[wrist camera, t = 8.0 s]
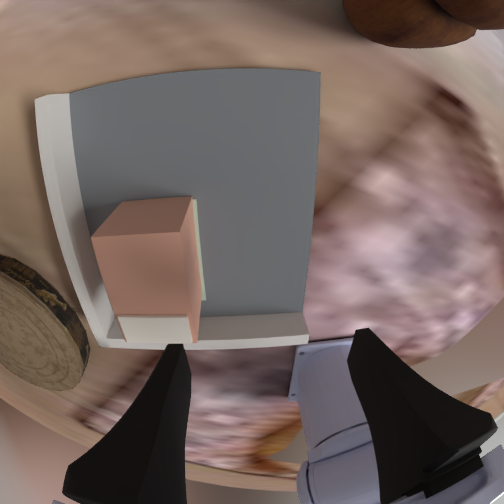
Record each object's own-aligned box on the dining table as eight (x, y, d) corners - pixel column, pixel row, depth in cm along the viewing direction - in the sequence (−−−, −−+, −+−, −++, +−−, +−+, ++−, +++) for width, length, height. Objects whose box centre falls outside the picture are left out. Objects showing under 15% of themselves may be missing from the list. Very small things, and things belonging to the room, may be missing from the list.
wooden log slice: (112, 317, 22) (101, 342, 20) (74, 387, 28) (67, 406, 25) (-21, 221, 17) (-40, 236, 14) (-24, 319, 22) (-35, 335, 19)
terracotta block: (192, 196, 17) (179, 233, 12) (202, 291, 20) (197, 345, 16) (122, 201, 17) (89, 239, 12) (142, 292, 20) (124, 344, 15)
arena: (299, 317, 23) (307, 343, 20) (109, 321, 22) (99, 346, 19) (318, 73, 14) (335, 68, 12) (60, 96, 13) (34, 99, 11)
